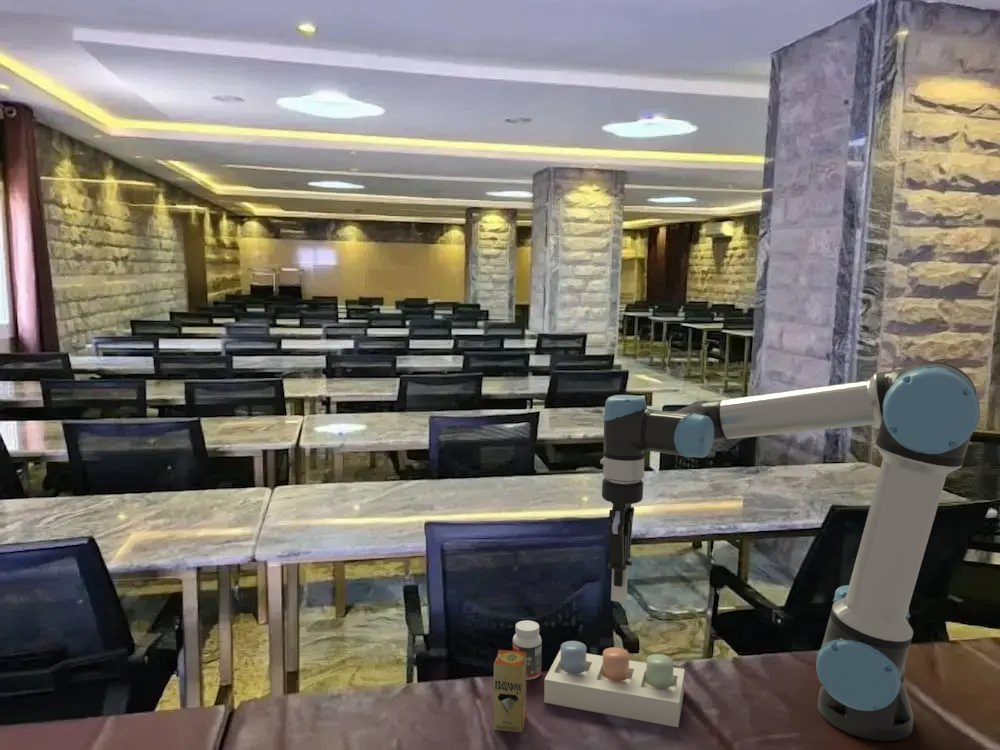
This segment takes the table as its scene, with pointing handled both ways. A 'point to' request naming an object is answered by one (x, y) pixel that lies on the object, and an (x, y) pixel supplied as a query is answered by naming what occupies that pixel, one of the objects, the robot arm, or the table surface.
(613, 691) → the panel
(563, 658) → the button slateblue
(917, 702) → the table surface
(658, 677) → the button sage
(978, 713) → the table surface
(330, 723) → the table surface
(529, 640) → the pill bottle
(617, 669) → the button terracotta
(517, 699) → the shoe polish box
